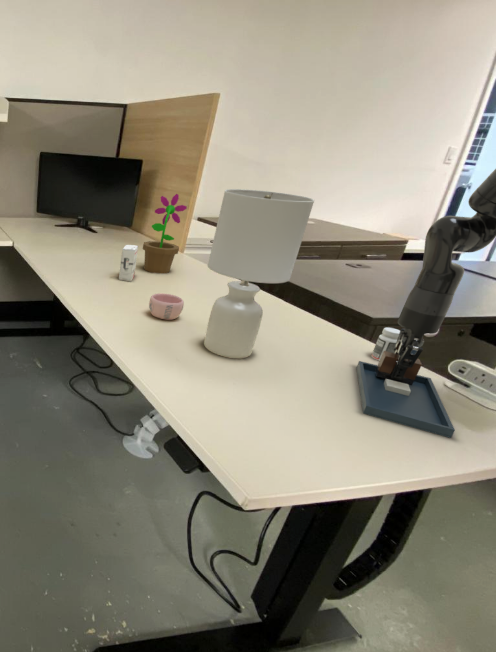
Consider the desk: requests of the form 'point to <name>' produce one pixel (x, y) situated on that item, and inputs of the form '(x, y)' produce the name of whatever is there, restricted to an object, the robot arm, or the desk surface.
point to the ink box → (128, 262)
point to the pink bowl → (165, 306)
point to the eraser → (388, 365)
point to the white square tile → (397, 387)
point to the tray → (403, 402)
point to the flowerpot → (162, 252)
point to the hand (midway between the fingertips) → (394, 375)
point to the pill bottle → (385, 342)
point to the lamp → (251, 261)
